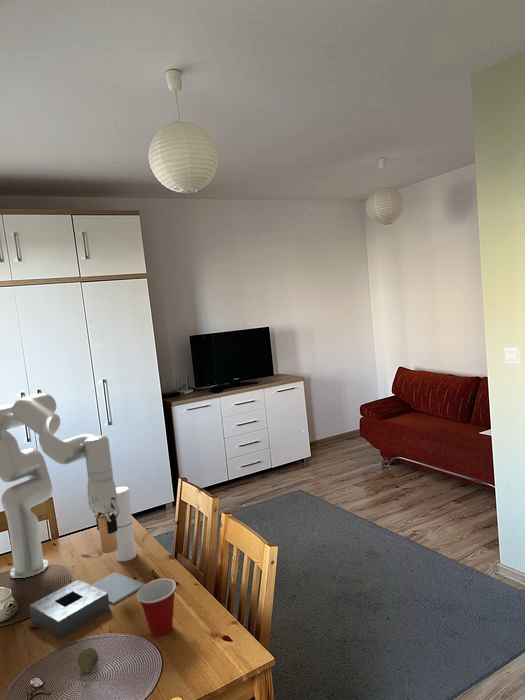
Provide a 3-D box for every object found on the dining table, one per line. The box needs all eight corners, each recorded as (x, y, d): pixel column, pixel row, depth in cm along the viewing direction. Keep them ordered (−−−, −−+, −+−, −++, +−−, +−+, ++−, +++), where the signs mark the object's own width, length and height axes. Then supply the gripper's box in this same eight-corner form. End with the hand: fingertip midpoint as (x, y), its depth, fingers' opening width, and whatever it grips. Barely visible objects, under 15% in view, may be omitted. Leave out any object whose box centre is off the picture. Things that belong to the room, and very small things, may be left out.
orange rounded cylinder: (98, 551, 164) (94, 517, 163) (111, 544, 168) (107, 512, 167) (108, 554, 161) (103, 520, 160) (121, 547, 165) (116, 514, 164)
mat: (83, 590, 166) (83, 588, 166) (114, 573, 175) (114, 572, 175) (113, 604, 156) (113, 602, 156) (144, 585, 165) (144, 584, 165)
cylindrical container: (130, 561, 183) (122, 493, 181) (112, 561, 184) (104, 493, 182) (139, 551, 190) (131, 486, 188) (121, 551, 191) (114, 486, 189)
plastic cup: (137, 626, 143) (132, 585, 143) (175, 613, 148) (170, 574, 147) (144, 648, 133) (139, 604, 133) (185, 634, 138) (180, 591, 137)
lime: (100, 661, 130) (97, 642, 130) (94, 674, 125) (92, 655, 125) (82, 663, 130) (80, 644, 129) (76, 677, 125) (73, 657, 125)
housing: (31, 621, 151) (29, 605, 151) (79, 594, 163) (78, 579, 163) (60, 638, 141) (58, 621, 141) (109, 609, 153) (107, 593, 153)
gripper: (75, 475, 165) (82, 530, 166) (106, 482, 154) (113, 540, 156) (95, 468, 171) (102, 521, 172) (126, 474, 160) (133, 530, 161)
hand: (107, 530), depth 164 cm, fingers closed on orange rounded cylinder, 5 cm apart
